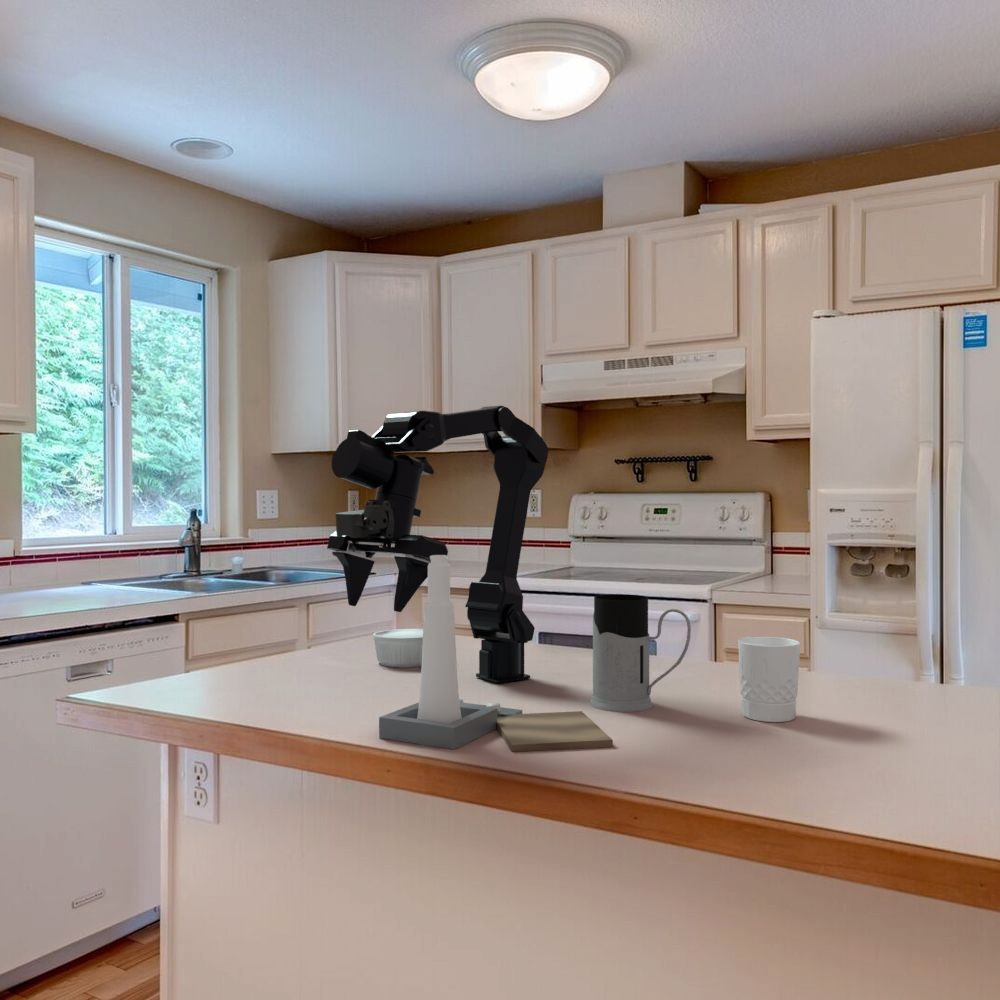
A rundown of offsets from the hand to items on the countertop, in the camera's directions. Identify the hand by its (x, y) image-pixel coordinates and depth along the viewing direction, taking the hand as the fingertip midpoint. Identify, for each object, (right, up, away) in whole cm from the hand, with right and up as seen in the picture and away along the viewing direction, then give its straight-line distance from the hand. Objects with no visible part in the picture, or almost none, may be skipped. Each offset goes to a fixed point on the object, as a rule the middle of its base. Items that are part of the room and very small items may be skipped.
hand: (374, 608), depth 126 cm
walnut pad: (+23, -14, -12) cm, 30 cm away
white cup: (+53, -14, -4) cm, 55 cm away
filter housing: (+11, -14, -8) cm, 20 cm away
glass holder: (+37, -14, +2) cm, 39 cm away
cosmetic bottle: (+10, -14, -12) cm, 21 cm away
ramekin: (+1, -14, +35) cm, 37 cm away
